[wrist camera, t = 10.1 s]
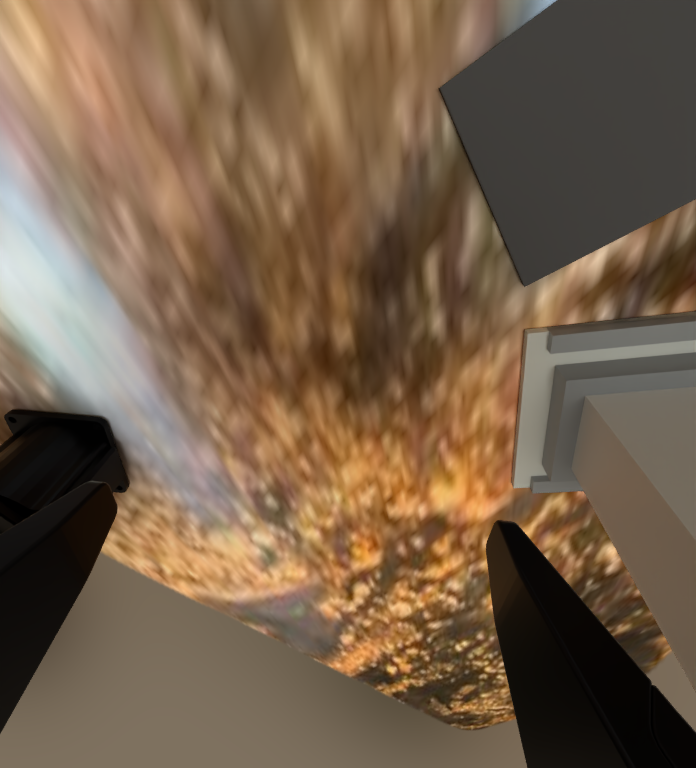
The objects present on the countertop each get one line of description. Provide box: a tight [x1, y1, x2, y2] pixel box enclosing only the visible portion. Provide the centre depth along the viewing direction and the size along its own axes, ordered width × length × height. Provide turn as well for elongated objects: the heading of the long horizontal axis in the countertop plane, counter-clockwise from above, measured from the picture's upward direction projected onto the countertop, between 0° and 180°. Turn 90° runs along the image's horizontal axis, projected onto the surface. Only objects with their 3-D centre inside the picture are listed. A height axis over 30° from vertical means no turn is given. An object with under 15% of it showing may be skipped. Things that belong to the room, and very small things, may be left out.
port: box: [511, 311, 696, 493], centre depth 21 cm, size 10×11×3 cm
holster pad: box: [439, 0, 696, 287], centre depth 15 cm, size 9×9×1 cm
